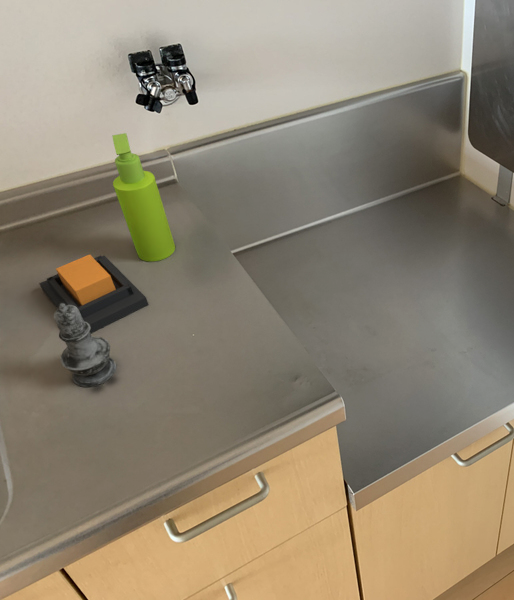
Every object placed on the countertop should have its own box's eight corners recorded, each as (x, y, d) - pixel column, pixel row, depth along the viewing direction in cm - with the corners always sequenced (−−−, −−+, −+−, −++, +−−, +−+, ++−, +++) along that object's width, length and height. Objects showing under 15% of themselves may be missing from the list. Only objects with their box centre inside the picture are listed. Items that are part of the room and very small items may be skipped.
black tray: (81, 338, 84) (73, 322, 82) (42, 290, 92) (35, 275, 90) (148, 304, 90) (143, 289, 88) (107, 262, 97) (101, 247, 95)
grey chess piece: (121, 352, 82) (92, 284, 74) (114, 385, 78) (81, 316, 70) (75, 358, 82) (41, 289, 74) (65, 391, 77) (27, 322, 69)
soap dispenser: (140, 269, 96) (99, 153, 83) (135, 245, 101) (96, 132, 87) (179, 259, 98) (144, 145, 84) (172, 236, 102) (138, 124, 89)
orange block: (83, 310, 86) (75, 291, 84) (64, 287, 90) (55, 268, 88) (117, 294, 89) (110, 275, 87) (97, 272, 93) (89, 254, 91)
